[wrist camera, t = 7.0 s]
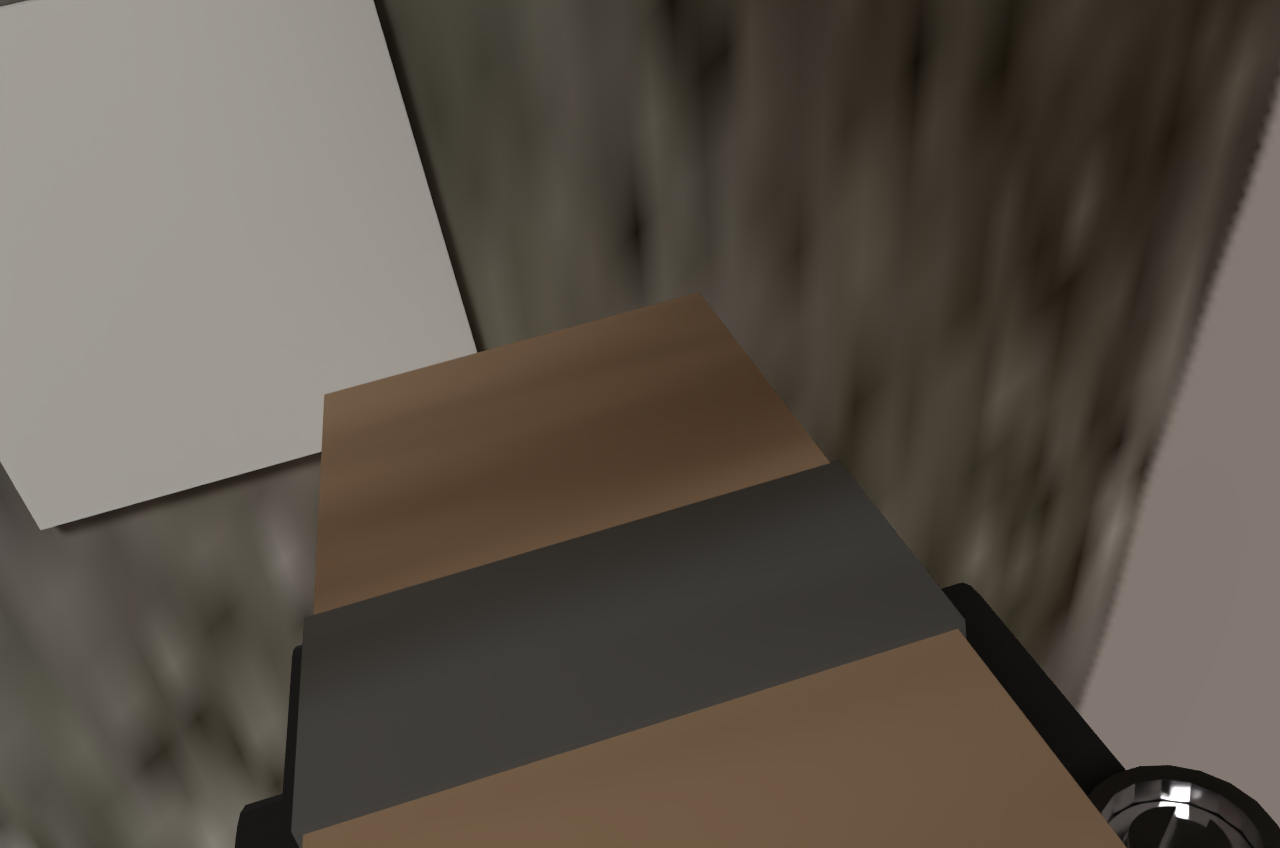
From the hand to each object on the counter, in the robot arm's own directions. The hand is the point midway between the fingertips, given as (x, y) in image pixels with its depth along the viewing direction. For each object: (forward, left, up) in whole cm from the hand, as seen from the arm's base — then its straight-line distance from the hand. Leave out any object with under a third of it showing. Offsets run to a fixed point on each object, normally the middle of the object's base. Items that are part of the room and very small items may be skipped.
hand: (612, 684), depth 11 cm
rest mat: (-2, -5, -12) cm, 13 cm away
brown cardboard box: (0, 0, -2) cm, 2 cm away
